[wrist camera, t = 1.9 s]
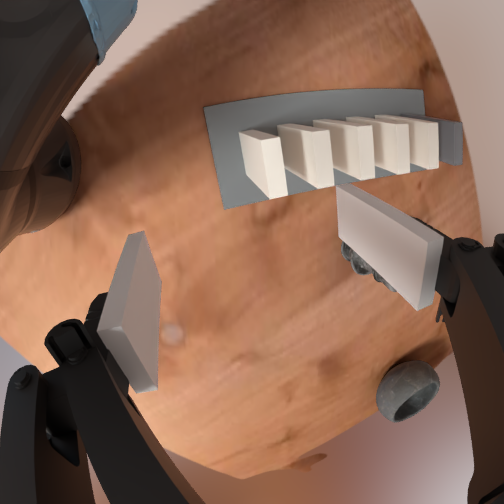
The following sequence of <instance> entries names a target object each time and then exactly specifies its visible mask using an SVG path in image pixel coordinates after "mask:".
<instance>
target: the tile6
mask: <svg viewBox="0 0 504 504" xmlns="http://www.w3.org/2000/svg"><path fill="white" fill-rule="evenodd" d="M401 117H407V118H414V119H420V120H426V121H432V122H437V123H438V139H439V161H442V162H445V163H448V164H451V165H454V166H455V165H462V158H463V130H462V122H458V121H452V120H447V119H441V118H435V117H429V116H423V115H416V114H401Z"/></svg>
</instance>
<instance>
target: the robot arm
mask: <svg viewBox="0 0 504 504" xmlns="http://www.w3.org/2000/svg"><path fill="white" fill-rule="evenodd" d="M137 2H138V1H137V0H0V253H1V252H2V251H3V249H4V248H5V247H6V246H7V245H8V244H9V243H10V242H11V241H12V240H13V239H14V238H15V237H16V236H18V235H22V234H26V233H33V232H37V231H40V230H42V229H44V228H46V227H47V226H49V225H50V224H52V223H53V222H54V221H55V220H56V219H57V218H58V217H59V216H60V215H61V214H62V213H63V212H64V211H65V210H66V209H67V208H68V206H69V205H70V203H71V201H72V200H73V198H74V195H75V193H76V190H77V187H78V184H79V179H80V172H81V157H80V150H79V146H78V142H77V139H76V136H75V134H74V132H73V130H72V128H71V127H70V125H69V124H68V122H67V121H66V120H65V119H64V118H63V117H62V116H61V114H62V113H63V111H64V110H65V108H66V107H67V105H68V104H69V102H70V101H71V99H72V98H73V96H74V95H75V94H76V92H77V91H78V89H79V88H80V87H81V85H82V84H83V83H84V81H85V80H86V79H87V77H88V76H89V75H90V73H91V72H92V71H93V69H94V68H95V67H96V66H97V65H100V64H101V63H102V62H103V60H104V58H105V55H106V52H107V51H108V49H109V48H110V47H111V46H112V44H113V43H114V42H115V41H116V39H117V38H118V37H119V36H120V35H121V33H122V32H123V31H124V30H125V29H126V28H127V26H128V25H129V24H130V23H131V21H132V20H133V18H134V16H135V13H136V10H137ZM336 195H337V212H338V232H339V238H340V239H342V240H343V241H344V242H345V243H346V244H347V245H348V246H349V247H350V248H352V249H353V250H354V251H355V252H356V253H357V254H358V255H359V256H360V257H361V258H363V259H364V260H365V261H366V262H367V263H368V264H369V265H370V266H371V267H372V268H373V269H374V270H375V271H377V272H378V273H379V274H380V275H381V276H382V277H383V278H384V279H385V280H386V281H387V282H388V283H389V284H390V285H391V286H392V287H393V288H394V289H395V290H396V291H397V292H398V293H399V294H401V295H402V296H403V297H404V298H405V299H406V300H407V301H408V302H409V303H410V304H411V305H412V306H413V307H414V308H415V309H416V310H417V311H418V310H420V309H423V308H425V307H427V306H429V305H431V304H432V303H433V298H434V293H435V290H436V291H437V292H438V293H439V294H440V295H441V299H440V303H439V307H438V311H437V315H436V322H439V319H440V316H441V315H442V314H443V320H442V322H445V324H446V327H447V330H448V334H449V337H450V341H451V344H452V348H453V351H454V355H455V359H456V362H457V367H458V371H459V375H460V379H461V384H462V388H463V393H464V398H465V403H466V408H467V414H468V420H469V426H470V433H471V440H472V448H473V457H474V473H473V476H472V478H471V481H470V483H469V488H468V497H467V501H468V504H504V234H498V235H496V236H495V240H494V244H493V247H485V248H484V247H483V245H481V244H480V243H479V242H478V241H476V240H474V239H470V238H464V237H460V238H455V239H454V240H453V239H451V238H450V237H448V236H446V235H445V234H443V233H442V232H440V231H438V230H437V229H434V228H433V227H432V226H430V225H427V223H425V222H423V221H422V220H420V219H418V218H415V217H412V216H408V215H407V214H405V213H403V212H402V211H400V210H398V209H396V208H395V207H393V206H391V205H389V204H387V203H386V202H384V201H382V200H380V199H378V198H376V197H375V196H373V195H371V194H369V193H367V192H365V191H363V190H361V189H360V188H358V187H356V186H354V185H352V184H350V183H348V184H343V185H338V186H336ZM161 285H162V281H161V279H160V276H159V273H158V270H157V267H156V265H155V262H154V259H153V256H152V253H151V250H150V247H149V244H148V241H147V238H146V235H145V232H144V231H141V232H137V233H134V234H130V235H128V237H127V240H126V243H125V245H124V248H123V251H122V254H121V256H120V259H119V262H118V265H117V268H116V271H115V274H114V277H113V279H112V283H111V286H110V289H109V292H106V293H102V294H98V296H97V297H96V298H95V299H94V300H93V302H92V303H91V305H90V308H89V311H88V314H87V316H86V319H85V320H86V321H85V322H84V325H83V323H82V322H81V321H80V320H78V319H69V320H66V321H63V322H61V323H59V324H58V325H56V326H55V327H53V328H52V329H51V330H50V332H49V333H48V334H47V336H46V338H45V343H44V345H45V346H46V348H47V349H48V351H49V352H50V353H51V355H52V356H53V358H54V359H55V361H56V362H57V363H58V365H59V367H58V368H56V369H53V370H51V371H49V372H46V373H44V374H41V373H40V371H39V370H38V369H37V367H36V366H33V365H26V366H24V367H22V368H19V369H18V370H17V371H16V372H15V373H14V374H13V376H12V377H11V378H10V381H9V383H8V387H7V393H6V399H5V405H4V411H3V419H2V427H1V436H0V504H95V500H94V495H93V490H92V484H91V479H90V473H89V467H88V460H87V454H88V457H89V459H90V461H91V464H92V466H93V469H94V471H95V473H96V475H97V477H98V480H99V482H100V484H101V486H102V488H103V490H104V492H105V494H106V496H107V498H108V500H109V502H110V504H205V503H204V501H203V500H202V499H201V498H200V496H199V495H198V494H197V493H196V492H195V490H194V489H193V488H192V487H191V486H190V484H189V483H188V482H187V480H186V479H185V478H184V476H183V475H182V474H181V473H180V471H179V470H178V468H177V467H176V466H175V464H174V463H173V462H172V460H171V459H170V457H169V456H168V455H167V453H166V452H165V450H164V449H163V447H162V446H161V444H160V443H159V441H158V440H157V438H156V437H155V435H154V434H153V432H152V431H151V429H150V428H149V426H148V424H147V423H146V421H145V420H144V418H143V416H142V415H141V413H140V411H139V410H138V408H137V406H136V405H135V403H134V401H133V400H132V398H131V397H130V396H129V394H128V388H129V384H130V385H131V387H132V388H133V389H134V391H135V392H136V393H142V392H148V391H154V390H158V344H159V318H160V300H161Z"/></svg>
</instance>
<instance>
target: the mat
mask: <svg viewBox="0 0 504 504" xmlns="http://www.w3.org/2000/svg"><path fill="white" fill-rule="evenodd" d="M203 109H204V114H205V119H206V124H207V129H208V134H209V139H210V144H211V149H212V153H213V158H214V163H215V168H216V173H217V178H218V183H219V187H220V192H221V197H222V202H223V206H224V210H225V209H230V208H234V207H238V206H242V205H247V204H251V203H255V202H260V201H264V200H269V198H268V197H267V196H266V195H265V194H264V193H263V192H262V191H261V189H260V188H259V187H258V186H257V185H256V184H255V183H254V182H253V181H252V180H251V179H250V178H249V177H248V176H247V175H246V171H245V165H244V159H243V154H242V148H241V143H240V137H239V132H242V131H247V130H252V129H253V130H257V131H260V132H264V133H268V134H271V135H275V136H278V130H277V125H282V124H289V123H291V124H298V125H304V126H311V127H313V120H319V119H331V120H339V121H346V117H356V116H357V117H366V118H374V119H375V115H392V116H400V117H401V114H416V115H423V116H425V106H424V95H423V90H416V89H342V90H325V91H311V92H300V93H290V94H282V95H274V96H266V97H259V98H252V99H246V100H240V101H234V102H228V103H223V104H218V105H213V106H208V107H203ZM278 137H279V136H278ZM284 169H285V168H284ZM422 170H427V169H426V168H423V167H420V166H418V165H415V164H412V163H410V172H415V171H422ZM333 172H334V185H335V186H336V185H341V184H347V183H352V182H357V181H363V180H359V179H357V178H355V177H353V176H350V175H348V174H346V173H344V172H342V171H339V170H337V169H335V168H333ZM391 175H397V174H395V173H393V172H390V171H388V170H385V169H383V168H380V167H377V166H375V178H380V177H385V176H391ZM285 176H286V183H287V191H288V195H292V194H297V193H301V192H306V191H311V190H316V189H318V188H316V187H314V186H313V185H311V184H310V183H308V182H306V181H305V180H303V179H302V178H300V177H298V176H297V175H295V174H293V173H292V172H290V171H288V170H287V169H285ZM372 179H374V178H372ZM366 180H368V179H366ZM330 187H331V186H330ZM325 188H326V187H325ZM320 189H321V188H320Z"/></svg>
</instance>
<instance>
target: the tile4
mask: <svg viewBox="0 0 504 504" xmlns="http://www.w3.org/2000/svg"><path fill="white" fill-rule="evenodd" d="M346 122H353V123H360V124H367V125H372V131H373V145H374V162H375V166H377V167H380V168H383V169H385V170H388V171H390V172H393V173H395V174H398V175H399V174H405V173H410V147H409V126H408V124H407V123H401V122H395V121H388V120H381V119H374V118H366V117H357V116H356V117H346Z"/></svg>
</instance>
